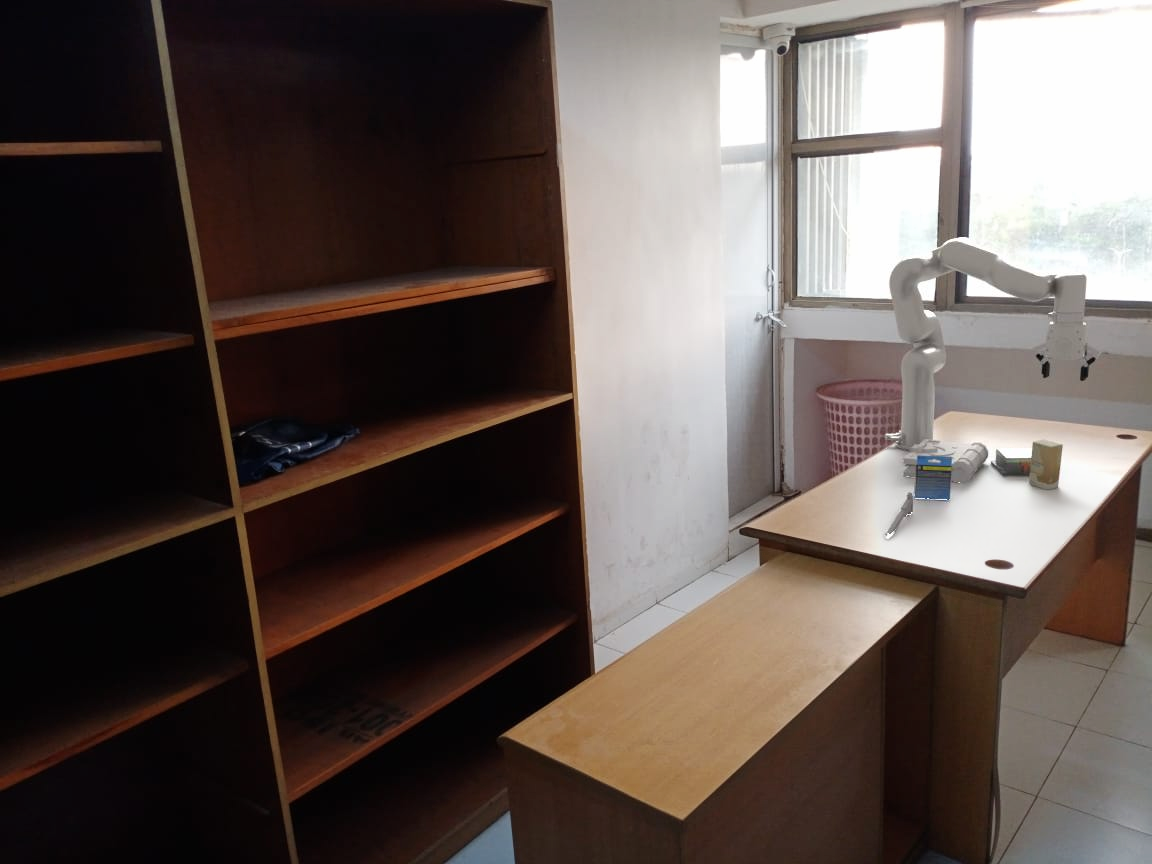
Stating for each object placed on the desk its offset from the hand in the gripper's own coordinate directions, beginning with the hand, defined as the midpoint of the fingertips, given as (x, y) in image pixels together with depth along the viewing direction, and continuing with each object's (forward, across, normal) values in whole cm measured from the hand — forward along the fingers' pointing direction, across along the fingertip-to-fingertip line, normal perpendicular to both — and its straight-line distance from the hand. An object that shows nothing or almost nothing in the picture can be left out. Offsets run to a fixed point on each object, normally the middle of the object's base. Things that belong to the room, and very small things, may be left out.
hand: (1064, 378), depth 261 cm
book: (+26, -25, -19) cm, 40 cm away
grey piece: (+25, -7, -10) cm, 28 cm away
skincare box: (+26, +3, -21) cm, 34 cm away
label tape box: (+26, -17, -47) cm, 56 cm away
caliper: (+26, -14, -71) cm, 77 cm away
